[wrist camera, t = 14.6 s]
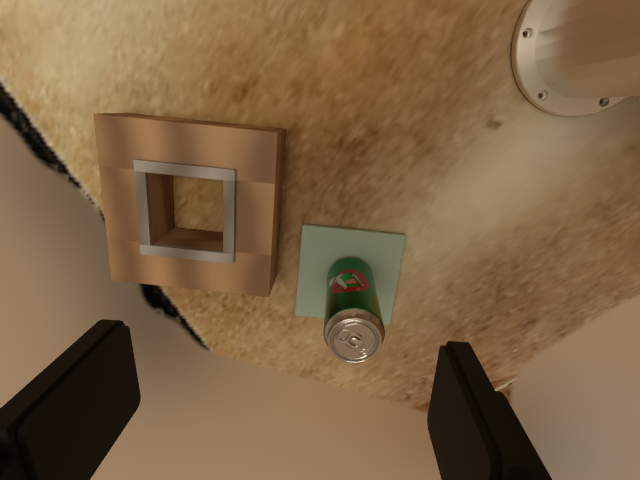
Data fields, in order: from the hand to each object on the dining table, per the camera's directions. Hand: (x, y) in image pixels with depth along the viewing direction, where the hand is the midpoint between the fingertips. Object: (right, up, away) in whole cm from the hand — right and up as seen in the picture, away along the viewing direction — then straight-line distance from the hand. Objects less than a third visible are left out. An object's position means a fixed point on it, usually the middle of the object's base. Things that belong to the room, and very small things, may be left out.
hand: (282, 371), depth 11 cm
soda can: (+4, 0, +30) cm, 30 cm away
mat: (+4, 0, +30) cm, 31 cm away
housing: (-11, +8, +28) cm, 31 cm away
